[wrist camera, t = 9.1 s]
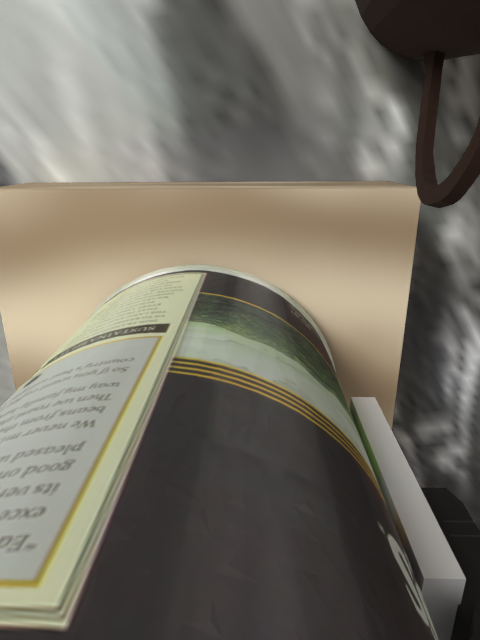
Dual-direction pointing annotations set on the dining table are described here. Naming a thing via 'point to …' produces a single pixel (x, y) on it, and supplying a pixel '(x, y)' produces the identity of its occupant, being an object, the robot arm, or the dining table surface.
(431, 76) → the coffee mug
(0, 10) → the dining table surface
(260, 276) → the oak riser
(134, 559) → the coffee can
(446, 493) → the robot arm
